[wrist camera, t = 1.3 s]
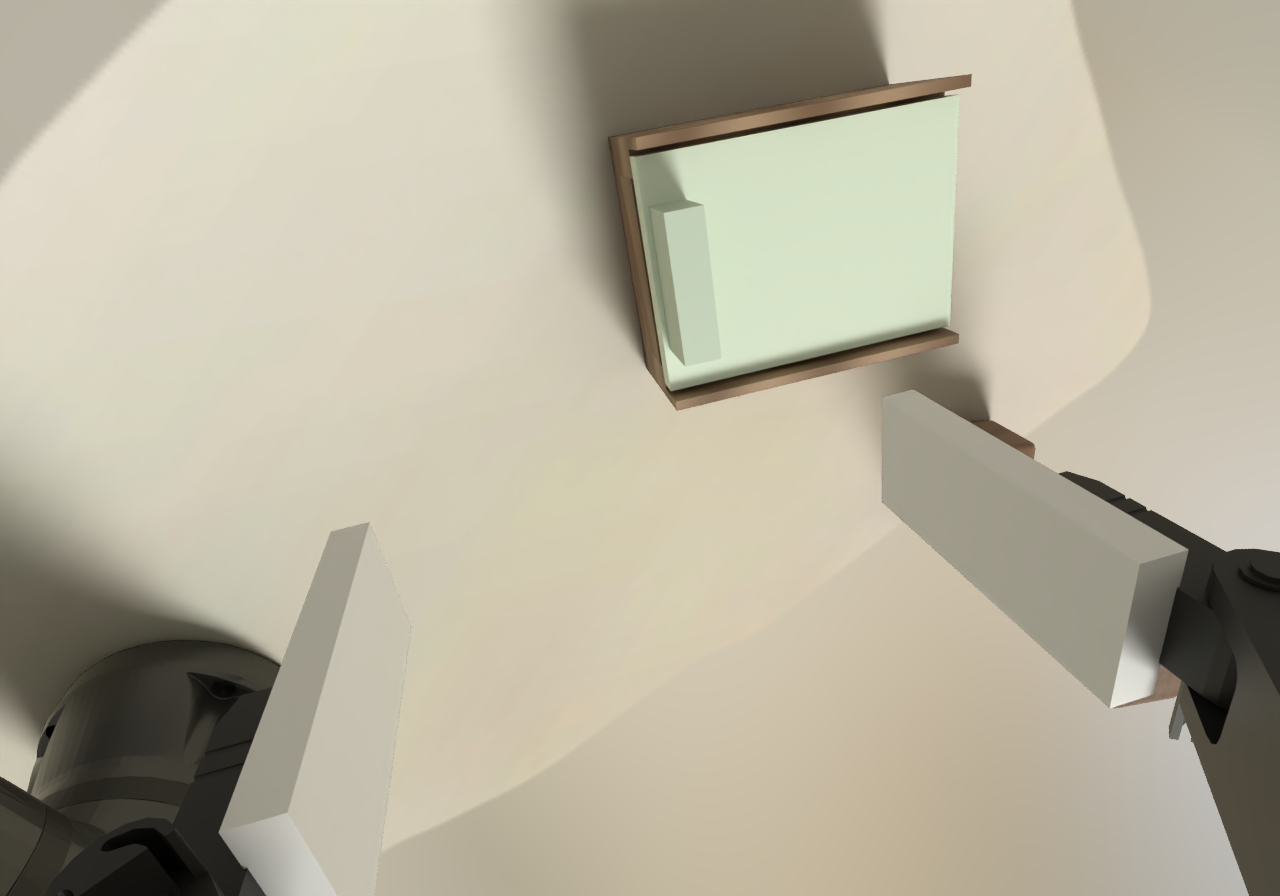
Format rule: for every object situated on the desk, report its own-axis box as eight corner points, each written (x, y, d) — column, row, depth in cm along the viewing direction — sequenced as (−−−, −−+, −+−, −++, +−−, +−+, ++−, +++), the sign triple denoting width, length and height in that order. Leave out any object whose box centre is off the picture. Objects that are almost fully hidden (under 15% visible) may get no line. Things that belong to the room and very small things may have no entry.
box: (647, 369, 41) (676, 410, 35) (608, 137, 35) (635, 137, 29) (889, 313, 43) (958, 342, 37) (889, 84, 37) (971, 74, 31)
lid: (665, 383, 36) (685, 410, 33) (629, 156, 31) (648, 159, 28) (936, 320, 38) (983, 338, 35) (944, 96, 33) (999, 91, 30)
